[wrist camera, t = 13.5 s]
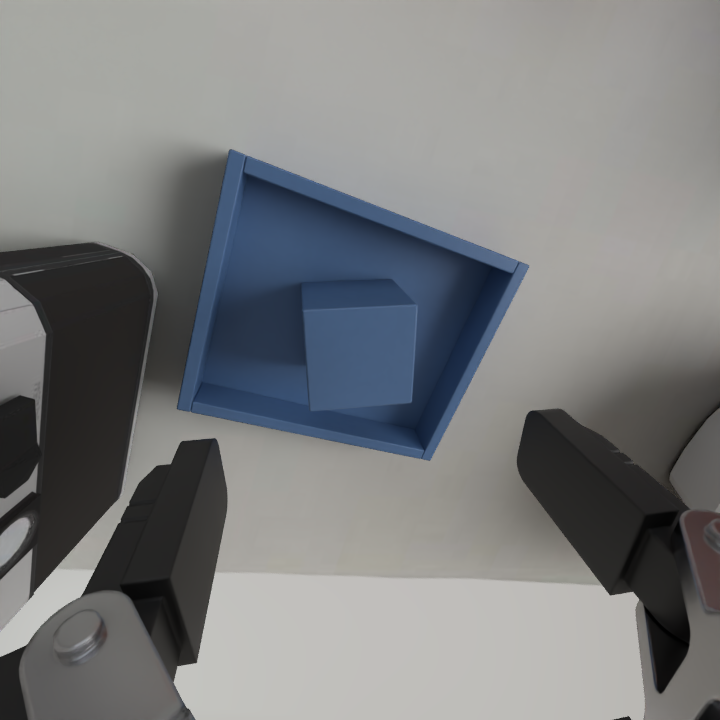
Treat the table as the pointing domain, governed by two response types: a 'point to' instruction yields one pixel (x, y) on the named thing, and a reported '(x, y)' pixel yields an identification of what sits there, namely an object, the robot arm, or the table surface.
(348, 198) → the blue tray
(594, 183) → the table surface
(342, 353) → the blue block
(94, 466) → the camera
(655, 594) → the robot arm
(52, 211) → the table surface
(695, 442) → the bowl
